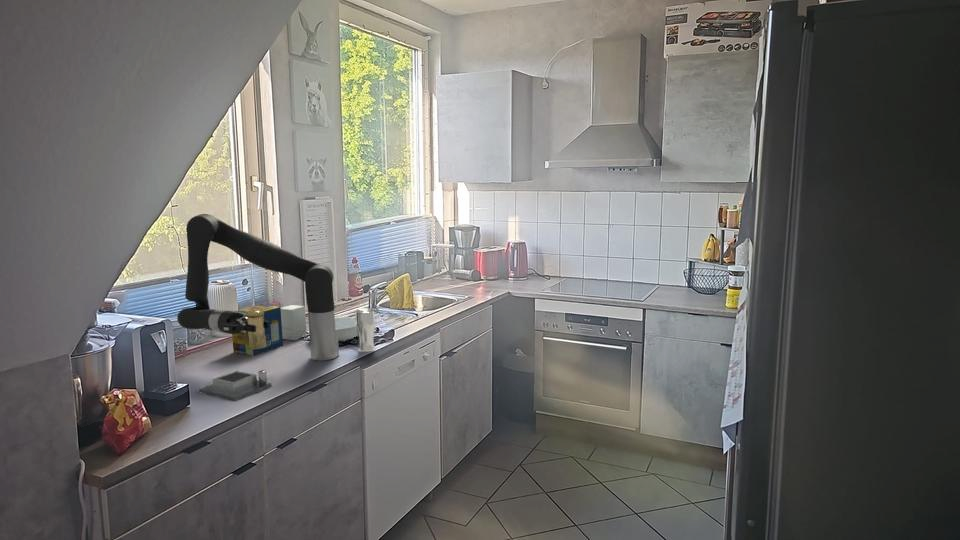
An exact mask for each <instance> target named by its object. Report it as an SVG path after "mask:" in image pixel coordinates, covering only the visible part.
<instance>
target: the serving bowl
mask: <svg viewBox="0 0 960 540" xmlns="http://www.w3.org/2000/svg"><path fill="white" fill-rule="evenodd" d="M335 327H336V329H337V330H338V341H343V342H345V341H344V340H347V341H349V340H352V339H354V337H355V338H356V336H357V337H358V334H357V329H356V317H352V316H351V317H348V316H346V317H345V316H342V317H341V316H339V317H335ZM348 339H349V340H348Z"/></svg>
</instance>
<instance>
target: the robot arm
mask: <svg viewBox="0 0 960 540" xmlns="http://www.w3.org/2000/svg"><path fill="white" fill-rule="evenodd" d="M186 223H187V224H186V227H185V229H186V239H187V274H186V282H185V283H186V284H185V295H184V297H185V299H186V300H187V301H189V302H193V303H195V306H191V307H186V308H183V309H181V310H179V312H178V314H177V318H176V319H177V322H178V324H179V325H180V327H182V328H184V329H187V330H209V331H214V332H217V333H223V334H229V335H232V334H237V333H241V332H246V331H248V332H256V326H255V325H250V324H248V322H247V317H243V316H242V314H241V313H239V312H235V311H236V310H235V311H234V310H226V309H211V308H210V303H209V302H210V301H209V298H208V297H209V296H208V292H209V284H210V283H209V282H210V274H209V265H208V258H209V257H208V256H209V250H210V249H209V248H210V245H211V242H212V243H216V244H218V245H220V246H224V247H226V248H228V249H230V250H231V251H233V252H234V253H235V254H237V255H238V256H239V257H241V258H242V259H244V260H245V261H247V262H249V263H251V264H252V265H255V266H257V267H260V268H262V269H264V270H268V271H271V272H276V273H280V274H283V275H284V274H285V275H289V276H292V277H294V278H297V279H298V280H301V281H302V282H304V285H305V301H306V306H307V317H308V331H309V332H308V333H309V347H310V348H309V349H310V350H309V351H310V360H314V361H329V360H332V359H335V358H337V356H339V355H340V350H339V342H338V330H337V329H336V327H335V318H336V314H335V301H334V288H333V282H334V273H333V271H332V269H331V268H329V267H328V266H327V265H326V264H321V263H318V262H315V261H312V260H310V259H306V258H304V257H301V256H299V255H297V254H295V253H292V251H290V250H287V249H285V248H284V247H281V246H279V245H278V244H276V243H273V242H271V241H268V240H266V239H265V238H261V237H258V236H256V235H254V234H251V233H249V232H246V231H244V230H241V229H238V228H235V227H234V226H231V225H230V224H228V223H226V222H225V221H222V220H221V219H219V218H217V217H216V216H214V215H211V214H208V213H201V214H198V215H195V216H193V217H191V218H190V219H189V220H188V222H186ZM269 327H270V325H269V321H265V318H264V328H269Z"/></svg>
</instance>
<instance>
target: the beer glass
mask: <svg viewBox="0 0 960 540" xmlns="http://www.w3.org/2000/svg"><path fill="white" fill-rule="evenodd" d="M374 311H375V310H374V309H371V308H360V309H357V310H355V318H356V329H357V334H358V336H357V337H358V349H357V350H358V352H360V353H371V352H374V351H375V350H376V348H375V344H374V336H375V335H374V334H375V324H376V320H375V313H374Z"/></svg>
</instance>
